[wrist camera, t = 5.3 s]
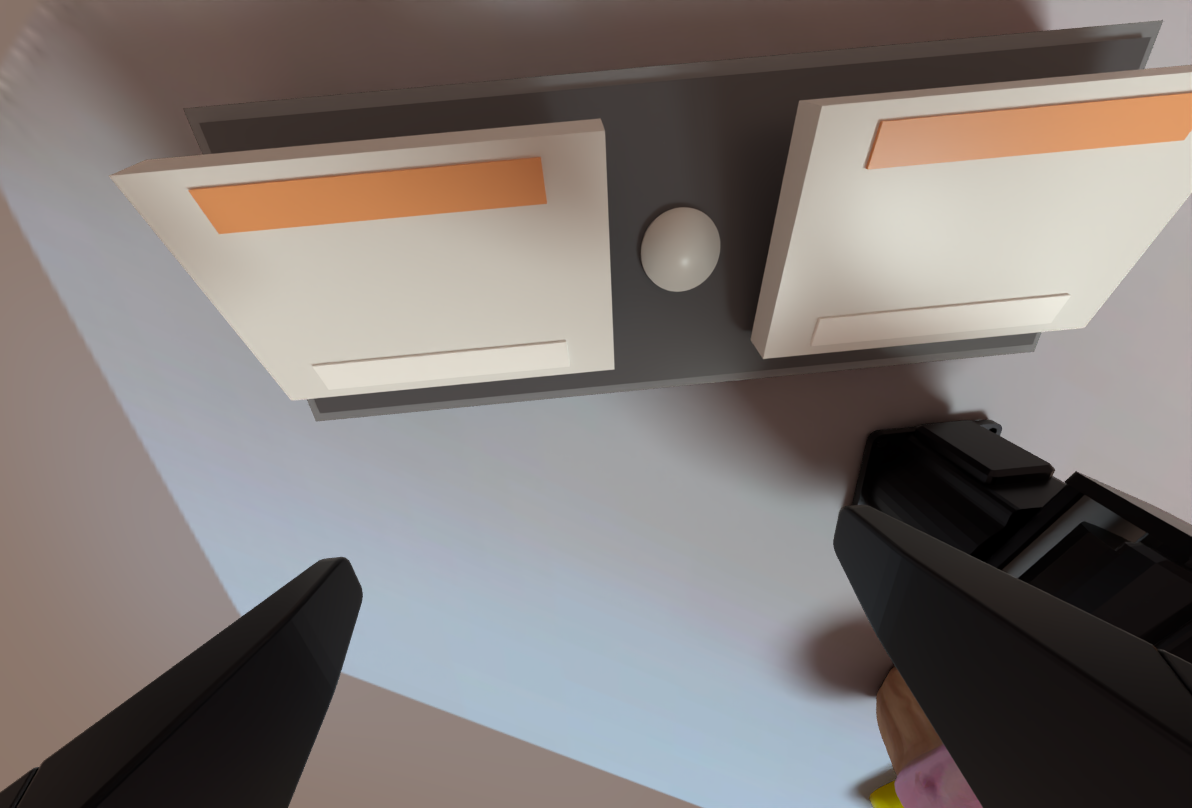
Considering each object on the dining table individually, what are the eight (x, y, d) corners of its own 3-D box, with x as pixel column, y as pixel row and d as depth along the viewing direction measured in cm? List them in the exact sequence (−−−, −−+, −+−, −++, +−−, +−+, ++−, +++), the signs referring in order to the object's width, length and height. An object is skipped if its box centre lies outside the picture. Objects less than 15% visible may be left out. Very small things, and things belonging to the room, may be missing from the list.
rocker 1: (611, 348, 15) (614, 371, 14) (306, 377, 15) (290, 402, 14) (600, 118, 10) (605, 131, 9) (145, 160, 10) (105, 177, 9)
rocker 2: (1052, 310, 15) (1087, 329, 14) (750, 339, 15) (764, 360, 14) (1231, 60, 11) (1300, 62, 10) (799, 100, 10) (824, 106, 9)
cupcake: (991, 653, 30) (1172, 848, 21) (918, 722, 33) (1045, 914, 24) (887, 635, 28) (1033, 835, 19) (821, 709, 32) (920, 908, 23)
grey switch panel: (968, 330, 19) (1044, 355, 16) (352, 389, 19) (310, 426, 16) (1054, 54, 15) (1181, 14, 12) (255, 125, 14) (170, 105, 11)
